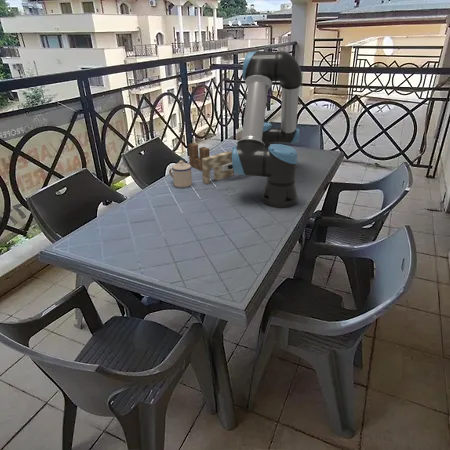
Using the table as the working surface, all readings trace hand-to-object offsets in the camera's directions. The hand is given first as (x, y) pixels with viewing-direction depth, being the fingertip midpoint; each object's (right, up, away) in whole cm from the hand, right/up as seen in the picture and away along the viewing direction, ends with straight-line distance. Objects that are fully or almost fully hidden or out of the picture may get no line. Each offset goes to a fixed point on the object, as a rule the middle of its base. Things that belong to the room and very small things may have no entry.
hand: (216, 166), depth 169 cm
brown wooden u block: (-10, +2, +17) cm, 20 cm away
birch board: (+1, -6, +4) cm, 7 cm away
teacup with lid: (-17, -9, -2) cm, 20 cm away
